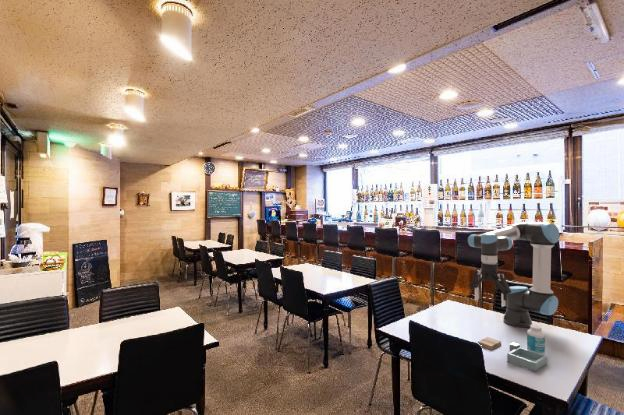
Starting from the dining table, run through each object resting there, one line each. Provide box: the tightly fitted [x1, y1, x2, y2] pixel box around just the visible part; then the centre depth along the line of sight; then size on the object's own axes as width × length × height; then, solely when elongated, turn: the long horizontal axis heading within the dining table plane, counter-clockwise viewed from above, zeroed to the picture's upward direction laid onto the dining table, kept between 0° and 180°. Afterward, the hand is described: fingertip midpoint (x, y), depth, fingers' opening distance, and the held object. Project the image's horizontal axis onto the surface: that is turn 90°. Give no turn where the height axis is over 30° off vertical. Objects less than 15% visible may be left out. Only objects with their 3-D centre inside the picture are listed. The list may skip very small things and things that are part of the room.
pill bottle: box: [526, 324, 546, 356], centre depth 158 cm, size 8×7×14 cm
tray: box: [506, 346, 548, 373], centre depth 149 cm, size 12×12×4 cm
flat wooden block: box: [477, 336, 502, 351], centre depth 168 cm, size 10×7×2 cm
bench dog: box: [509, 341, 521, 352], centre depth 158 cm, size 4×3×5 cm
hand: (489, 303), depth 165 cm, fingers open, 13 cm apart
